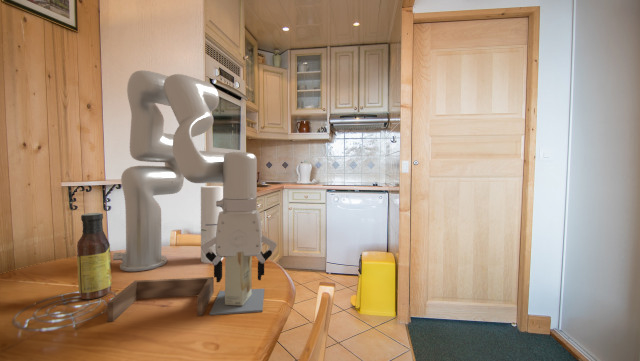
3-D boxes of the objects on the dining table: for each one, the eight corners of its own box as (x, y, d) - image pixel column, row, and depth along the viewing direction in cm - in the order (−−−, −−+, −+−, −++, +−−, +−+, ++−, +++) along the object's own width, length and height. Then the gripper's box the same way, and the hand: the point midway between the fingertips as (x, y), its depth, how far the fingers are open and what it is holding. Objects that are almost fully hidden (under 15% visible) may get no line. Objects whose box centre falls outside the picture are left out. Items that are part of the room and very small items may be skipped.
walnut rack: (107, 321, 55) (107, 302, 55) (135, 297, 66) (134, 280, 66) (202, 315, 58) (202, 297, 58) (213, 292, 69) (213, 277, 69)
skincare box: (242, 306, 62) (243, 252, 61) (224, 305, 62) (224, 251, 61) (252, 293, 68) (252, 244, 67) (235, 292, 68) (235, 244, 68)
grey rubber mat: (209, 315, 59) (209, 313, 59) (219, 292, 69) (219, 290, 69) (262, 311, 60) (262, 309, 60) (264, 290, 71) (264, 288, 71)
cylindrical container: (218, 263, 91) (218, 187, 90) (197, 262, 91) (196, 187, 90) (226, 256, 98) (226, 186, 97) (206, 256, 98) (206, 185, 97)
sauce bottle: (117, 291, 69) (116, 212, 68) (89, 302, 63) (88, 216, 62) (99, 287, 71) (98, 211, 70) (71, 298, 65) (69, 214, 64)
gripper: (195, 208, 59) (196, 288, 60) (278, 207, 62) (277, 283, 62) (204, 203, 66) (204, 274, 67) (277, 203, 69) (277, 271, 70)
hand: (239, 278), depth 65 cm, fingers open, 8 cm apart
